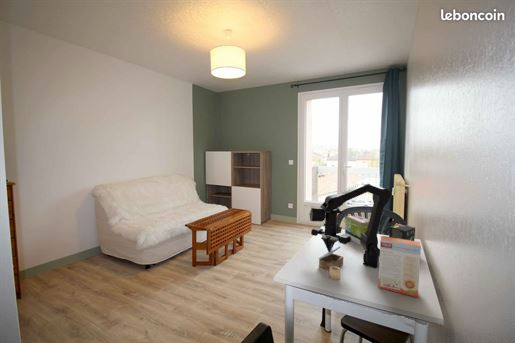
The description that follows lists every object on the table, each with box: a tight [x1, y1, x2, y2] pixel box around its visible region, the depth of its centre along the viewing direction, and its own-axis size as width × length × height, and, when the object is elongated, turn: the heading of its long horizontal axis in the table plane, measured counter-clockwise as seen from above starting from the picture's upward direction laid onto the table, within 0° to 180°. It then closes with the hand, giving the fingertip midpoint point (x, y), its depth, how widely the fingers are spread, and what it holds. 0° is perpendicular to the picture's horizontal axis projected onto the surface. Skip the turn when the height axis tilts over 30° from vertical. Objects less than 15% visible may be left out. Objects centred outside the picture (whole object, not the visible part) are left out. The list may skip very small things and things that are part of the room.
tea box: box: [344, 214, 370, 246], centre depth 152 cm, size 15×10×15 cm
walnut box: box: [318, 252, 344, 271], centre depth 119 cm, size 7×12×4 cm, turn 137°
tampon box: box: [388, 223, 416, 241], centre depth 136 cm, size 11×9×15 cm
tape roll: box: [328, 266, 342, 281], centre depth 107 cm, size 5×5×4 cm
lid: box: [318, 246, 341, 261], centre depth 119 cm, size 7×12×1 cm
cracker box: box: [378, 235, 422, 298], centre depth 97 cm, size 14×6×21 cm, turn 59°
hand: (329, 251), depth 119 cm, fingers closed
